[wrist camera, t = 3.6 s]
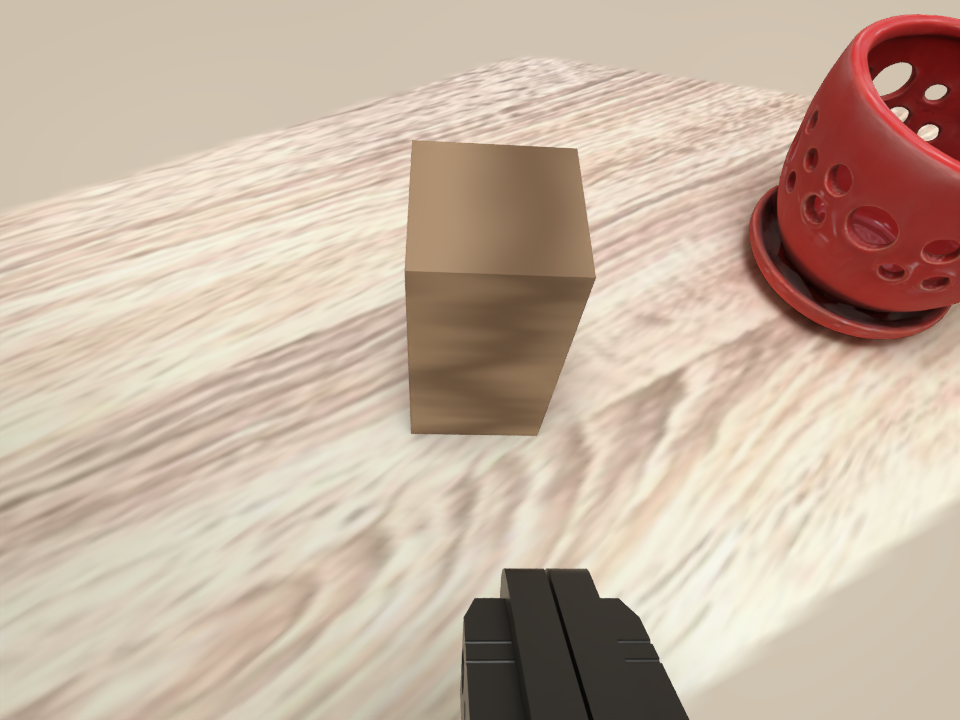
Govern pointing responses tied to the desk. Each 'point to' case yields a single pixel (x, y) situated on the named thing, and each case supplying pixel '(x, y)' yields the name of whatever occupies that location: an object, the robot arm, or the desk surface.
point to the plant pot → (872, 190)
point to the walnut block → (492, 283)
